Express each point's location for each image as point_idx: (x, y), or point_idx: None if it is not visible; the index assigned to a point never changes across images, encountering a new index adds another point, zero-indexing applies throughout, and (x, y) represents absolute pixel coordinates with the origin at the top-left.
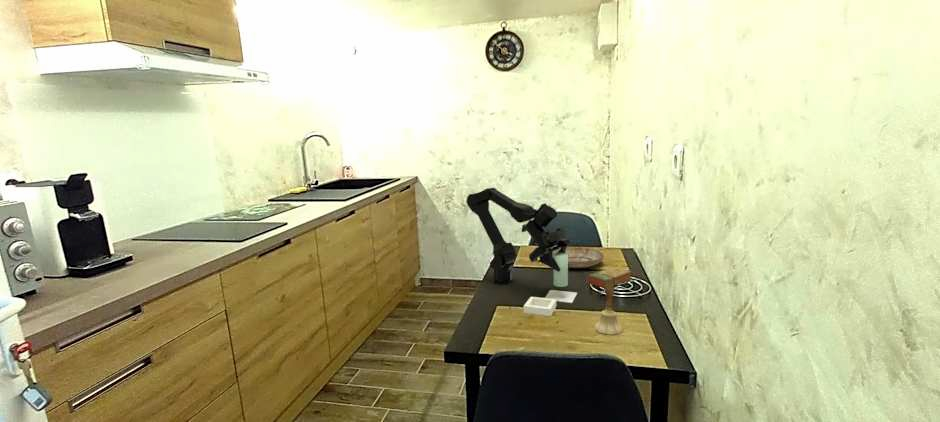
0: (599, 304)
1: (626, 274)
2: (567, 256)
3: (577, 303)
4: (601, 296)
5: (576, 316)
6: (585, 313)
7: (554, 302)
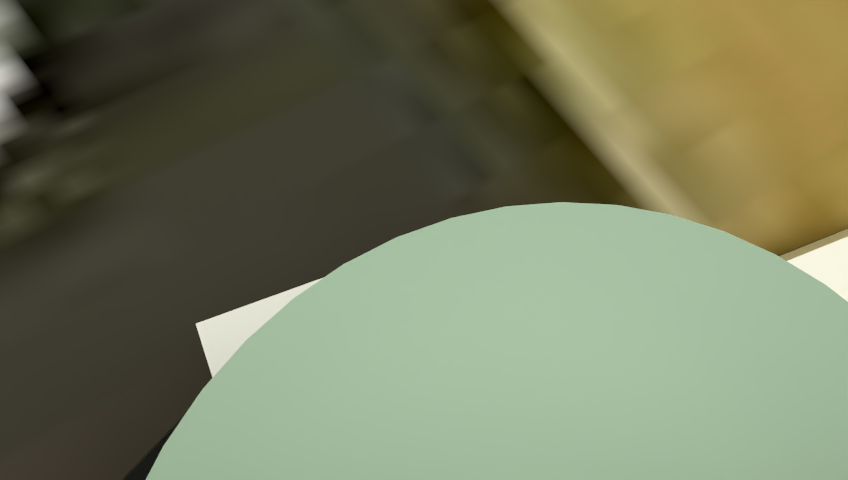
0: (321, 16)
1: None
2: (488, 221)
3: (434, 192)
4: (96, 93)
5: (705, 50)
6: (597, 21)
7: (810, 253)
